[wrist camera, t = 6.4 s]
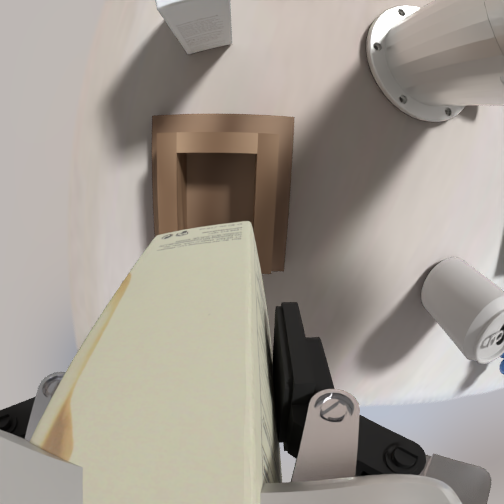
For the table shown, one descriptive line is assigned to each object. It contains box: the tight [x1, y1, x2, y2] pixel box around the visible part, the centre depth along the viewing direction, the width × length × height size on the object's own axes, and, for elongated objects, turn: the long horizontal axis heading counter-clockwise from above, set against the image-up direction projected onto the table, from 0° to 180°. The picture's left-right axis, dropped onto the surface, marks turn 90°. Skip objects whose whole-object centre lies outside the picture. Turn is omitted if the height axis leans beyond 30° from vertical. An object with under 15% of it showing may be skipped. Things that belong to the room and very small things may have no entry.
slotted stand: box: [152, 114, 294, 274], centre depth 25 cm, size 12×14×6 cm
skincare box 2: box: [30, 221, 282, 504], centre depth 8 cm, size 6×4×12 cm
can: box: [421, 257, 504, 364], centre depth 26 cm, size 8×8×12 cm
